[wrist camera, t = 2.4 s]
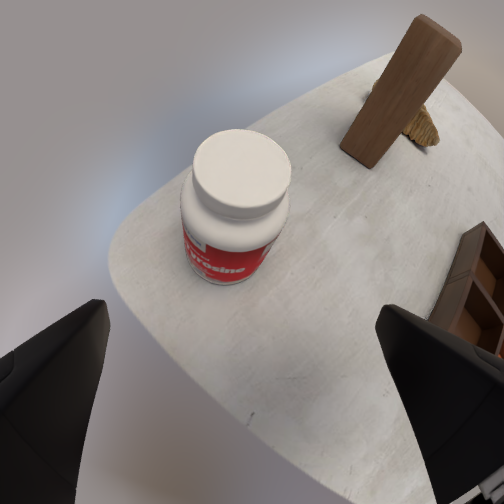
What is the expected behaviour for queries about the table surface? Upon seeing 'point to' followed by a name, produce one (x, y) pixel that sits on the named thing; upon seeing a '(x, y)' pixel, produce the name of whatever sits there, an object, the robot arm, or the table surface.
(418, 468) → the table surface
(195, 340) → the table surface
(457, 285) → the grid
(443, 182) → the table surface
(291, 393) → the table surface
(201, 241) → the pill bottle
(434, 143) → the fossil
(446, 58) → the wooden block
